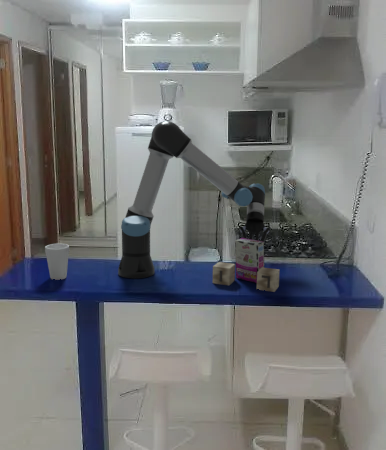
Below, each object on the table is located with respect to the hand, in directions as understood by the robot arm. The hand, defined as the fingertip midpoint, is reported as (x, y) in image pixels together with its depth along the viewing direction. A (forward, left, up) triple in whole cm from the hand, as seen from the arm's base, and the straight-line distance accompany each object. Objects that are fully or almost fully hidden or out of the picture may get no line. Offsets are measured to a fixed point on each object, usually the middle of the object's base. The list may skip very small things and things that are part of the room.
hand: (252, 262), depth 200 cm
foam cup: (-72, -33, -6) cm, 79 cm away
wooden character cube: (-9, -10, -6) cm, 15 cm away
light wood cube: (+9, -10, -6) cm, 15 cm away
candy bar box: (0, -4, -6) cm, 7 cm away
